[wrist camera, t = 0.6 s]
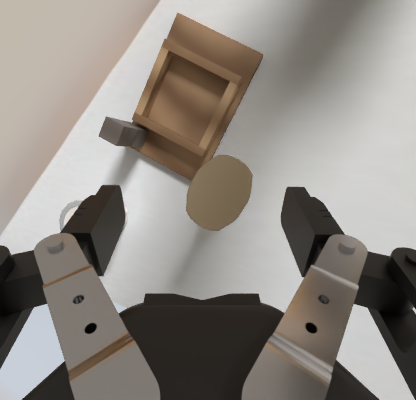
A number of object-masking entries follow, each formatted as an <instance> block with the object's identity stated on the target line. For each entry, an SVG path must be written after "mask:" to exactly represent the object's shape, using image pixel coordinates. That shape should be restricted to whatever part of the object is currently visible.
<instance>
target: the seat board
mask: <svg viewBox="0 0 416 400" xmlns="http://www.w3.org/2000/svg"><path fill="white" fill-rule="evenodd" d="M262 57H263V54H261V53H259V52H257V51H255V50H253V49H251V48H249V47H247V46H245V45H243V44H241V43H239V42H237V41H235V40H233V39H231V38H229V37H226V36H224V35H222V34H220V33H218V32H216V31H214V30H212V29H210V28H208V27H206V26H204V25H202V24H200V23H198V22H196V21H194V20H192V19H190V18H188V17H186V16H184V15H182V14H179V13H177V15H176V18H175V20H174V22H173V25H172V27H171V30H170V32H169V35H168V37H167V39H165V40H164V42H163V44H162V47H161V49H160V52H159V54H158V57H157V59H156V62H155V64H154V66H153V69H152V71H151V74H150V76H149V79H148V81H147V84H146V86H145V88H144V91H143V93H142V96H141V98H140V101H139V103H138V106H137V108H136V110H135V113H134V115H133V118H132V120H133V122H132V123H130V122H126V121H122V120H118V119H114V118H110V117H106V118H105V121H104V123H103V126H102V128H101V131H100V134H99V137H101V138H103V139H105V140H107V141H108V142H110V143H112V144H114V145H116V146H129V147H131V148H133V149H135V150H137V151H139V152H140V153H142V154H144V155H146V156H148V157H150V158H151V159H153V160H155V161H157V162H159V163H160V164H162V165H164V166H166V167H168V168H170V169H171V170H173V171H175V172H177V173H179V174H181V175H182V176H184V177H186V178H188V179H190V180H193V179H194V177H195V175H196V173H197V172H198V170H199V169H200V168H201V167H202V166H203V165H205V164H206V163H207V162H209V161H210V160H211V158H212V156H213V154H214V152H215V150H216V148H217V146H218V144H219V142H220V141H221V139H222V137H223V135H224V133H225V131H226V129H227V127H228V125H229V123H230V121H231V119H232V117H233V115H234V113H235V111H236V109H237V107H238V105H239V103H240V101H241V99H242V97H243V95H244V93H245V91H246V89H247V87H248V85H249V83H250V81H251V79H252V77H253V75H254V73H255V71H256V69H257V67H258V65H259V63H260V61H261V59H262Z"/></svg>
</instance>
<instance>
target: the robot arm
mask: <svg viewBox="0 0 416 400" xmlns="http://www.w3.org/2000/svg"><path fill="white" fill-rule="evenodd" d="M125 218H126V214H125V208H124V203H123V197H122V192H121V188H120V186H119V185H102V186H101V188H100V189H99V191H98V192H97V194H96V195H91V196H89V197H88V198H86V199H85V200H83V201H82V202H81V204H80V205H79V207H78V209H77V210H76V211H75V212H74V214H73V215H72V217H71V218H70V219H69V221H68V222H67V224H66V225H65V226H64V228H63V229H62V231H61V232H60V233H59V234H54V235H51V236H49V237H46V238H45V239H43V240H41V241H40V242H39V243H38V244H37V245H36V247H35V249H34V250H32V251H28V252H23V253H18V254H13V255H11V253H10V251H9V249H8V248H7V247H5V246H1V245H0V368H1V367H2V365H3V363H4V361H5V359H6V357H7V356H8V354H9V352H10V350H11V348H12V346H13V344H14V343H15V341H16V339H17V337H18V335H19V334H20V332H21V330H22V328H23V326H24V324H25V322H26V321H27V319H28V317H29V315H30V313H31V311H32V310H33V308H34V307H37V306H40V305H44V304H48V307H49V310H50V313H51V317H52V320H53V323H54V327H55V330H56V333H57V336H58V340H59V343H60V346H61V350H62V353H63V356H64V359H65V361H64V362H63V363H62V364H61V365H60V366H59V367H58V368H57V369H55V370H54V371H53V372H52V373H51V374H50V375H49V376H48V377H46V378H45V379H44V380H43V381H42V382H41V383H40V384H39V385H38V386H37V387H35V388H34V389H33V390H32V391H31V392H30V393H29V394H28V395H26V396H25V397H24V398H23V399H22V400H379V399H378V398H377V397H376V396H375V395H374V394H373V393H371V392H370V391H369V390H368V389H367V388H366V387H365V386H364V385H363V384H362V383H361V382H360V381H358V380H357V379H356V378H355V377H354V376H353V375H352V374H351V373H350V372H349V371H348V370H347V369H345V368H344V367H343V366H342V365H341V364H340V363H339V362H338V361H337V360H336V357H337V354H338V351H339V348H340V345H341V342H342V338H343V335H344V332H345V329H346V326H347V323H348V320H349V316H350V313H351V310H352V307H353V304H356V305H360V306H364V307H367V308H368V310H369V311H370V313H371V315H372V317H373V319H374V321H375V323H376V325H377V327H378V329H379V331H380V333H381V335H382V337H383V339H384V340H385V342H386V344H387V346H388V348H389V350H390V352H391V354H392V356H393V358H394V360H395V362H396V364H397V366H398V367H399V369H400V371H401V373H402V375H403V377H404V379H405V381H406V383H407V385H408V387H409V389H410V391H411V393H412V395H413V396H414V398H415V400H416V314H415V312H414V311H413V309H412V308H413V307H414V308H415V309H416V250H414V249H410V248H396V249H394V250H393V251H392V253H391V255H390V256H386V255H381V254H377V253H372V252H368V251H367V248H366V247H365V245H364V244H363V243H362V242H360V241H359V240H357V239H356V238H353V237H351V236H348V235H345V234H344V233H343V231H342V230H341V228H340V227H339V225H338V224H337V222H336V221H335V220H334V218H333V217H332V215H331V214H330V212H329V211H328V209H327V208H326V206H325V205H324V203H322V202H321V201H320V200H318V199H317V198H315V197H310V195H309V194H308V192H307V190H306V189H305V188H304V187H287V189H286V192H285V197H284V202H283V207H282V212H281V224H282V227H283V230H284V232H285V235H286V237H287V240H288V242H289V245H290V248H291V250H292V253H293V255H294V258H295V260H296V263H297V265H298V268H299V270H300V273H301V275H302V277H305V278H304V279H303V281H302V283H301V285H300V287H299V288H298V290H297V292H296V294H295V296H294V297H293V299H292V301H291V303H290V305H289V306H288V308H287V310H286V312H285V313H283V312H282V311H280V310H278V309H276V308H274V307H272V306H269V305H267V304H263V303H260V298H259V294H227V295H223V296H219V297H214V298H210V299H206V300H199V299H194V298H190V297H186V296H181V295H177V294H145V298H144V303H141V304H137V305H134V306H132V307H130V308H127V309H125V310H124V311H122V312H120V313H119V314H118V312H117V310H116V308H115V306H114V305H113V303H112V301H111V299H110V297H109V295H108V294H107V292H106V290H105V288H104V286H103V284H102V282H101V281H100V279H99V277H98V276H103V275H104V273H105V271H106V268H107V266H108V263H109V261H110V258H111V256H112V254H113V251H114V249H115V246H116V244H117V241H118V239H119V236H120V234H121V232H122V229H123V227H124V224H125Z"/></svg>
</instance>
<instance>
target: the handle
mask: <svg viewBox="0 0 416 400" xmlns="http://www.w3.org/2000/svg"><path fill="white" fill-rule="evenodd" d="M251 185H252V174H251V171H250V170H249V168H248V167H247V166H246V165H245V164H244V163H243V162H241V161H240V160H238V159H236V158H234V157H231V156H227V155H218V156H216V157H214V158H213V159H211V160H210V161H209V162H207V163H206V164H205V165H203V166H202V167H201V168H200V169H199V170H198V172H197V173H196V175H195V177H194V179H193V180H192V182H191V184H190V186H189V189H188V193H187V204H186V211H187V213H188V215H189V217H190V218H191V219H192V220H193V221H194V222H195V223H196V224H198V225H199V226H201V227H203V228H205V229H208V230H213V231H219V230H221V229H222V228H224V227H226V226H227V225H229V224H230V223H232V222H233V221H234V220H236V219H237V218H238V216H239V215H240V214H241V212H242V210H243V209H244V207H245V206H246V204H247V202H248V200H249V198H250V193H251Z"/></svg>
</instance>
